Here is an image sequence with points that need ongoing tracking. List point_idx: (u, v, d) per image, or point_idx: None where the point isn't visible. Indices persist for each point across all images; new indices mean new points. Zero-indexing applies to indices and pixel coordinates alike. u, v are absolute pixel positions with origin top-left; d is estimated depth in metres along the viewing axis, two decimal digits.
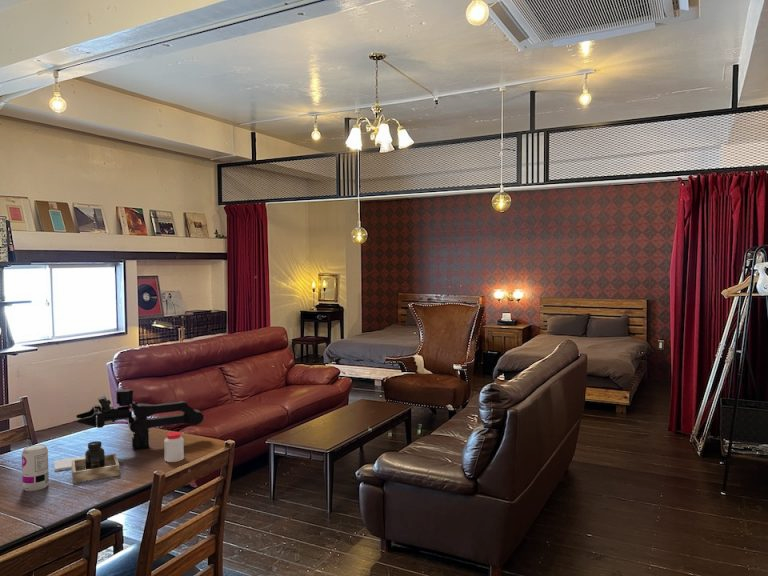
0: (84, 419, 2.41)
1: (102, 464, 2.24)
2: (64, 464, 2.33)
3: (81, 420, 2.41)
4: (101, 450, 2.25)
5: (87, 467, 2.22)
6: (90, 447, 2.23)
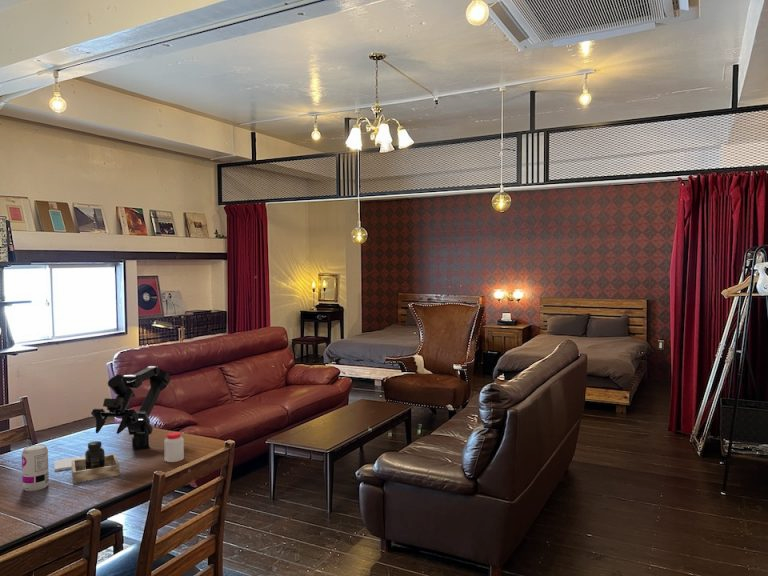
0: (121, 427, 2.34)
1: (102, 464, 2.24)
2: (64, 464, 2.33)
3: (120, 430, 2.33)
4: (101, 450, 2.25)
5: (87, 467, 2.22)
6: (90, 447, 2.23)
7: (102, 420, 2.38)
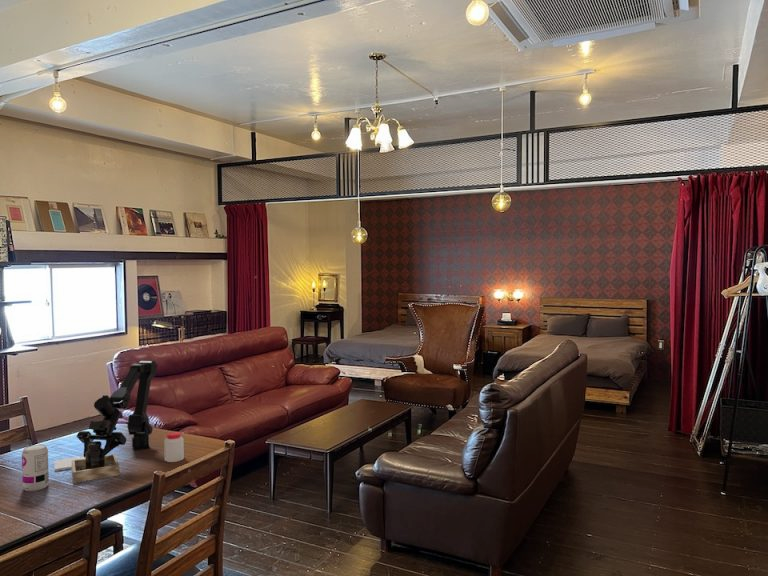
0: (105, 450, 2.25)
1: (102, 464, 2.24)
2: (64, 464, 2.33)
3: (104, 453, 2.24)
4: (101, 450, 2.25)
5: (87, 467, 2.22)
6: (90, 447, 2.23)
7: None
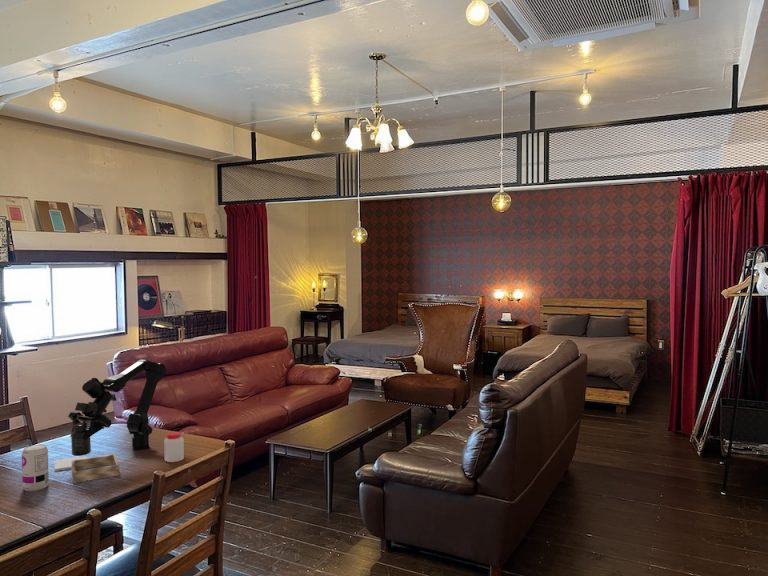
0: (89, 432, 2.27)
1: (86, 446, 2.27)
2: (64, 464, 2.33)
3: (87, 435, 2.26)
4: (85, 432, 2.27)
5: (72, 447, 2.26)
6: (75, 428, 2.26)
7: None
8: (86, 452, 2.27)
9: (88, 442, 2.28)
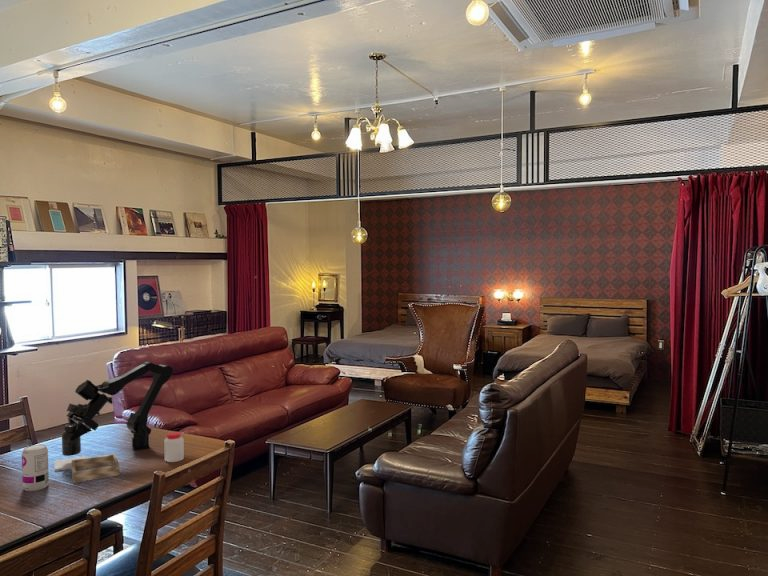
0: (75, 434, 2.32)
1: (73, 446, 2.33)
2: (64, 464, 2.33)
3: (74, 436, 2.32)
4: (73, 433, 2.33)
5: (62, 447, 2.33)
6: (64, 428, 2.33)
7: None
8: (73, 453, 2.33)
9: (76, 443, 2.33)
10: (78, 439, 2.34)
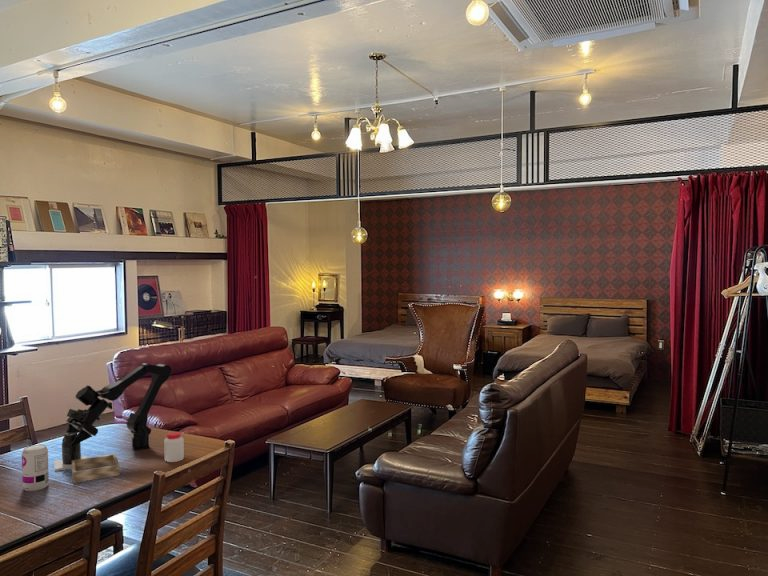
0: (76, 439, 2.31)
1: (74, 455, 2.33)
2: (64, 464, 2.33)
3: (74, 442, 2.31)
4: None
5: (62, 455, 2.33)
6: (64, 437, 2.33)
7: (74, 429, 2.40)
8: None
9: (76, 452, 2.33)
10: (78, 447, 2.34)
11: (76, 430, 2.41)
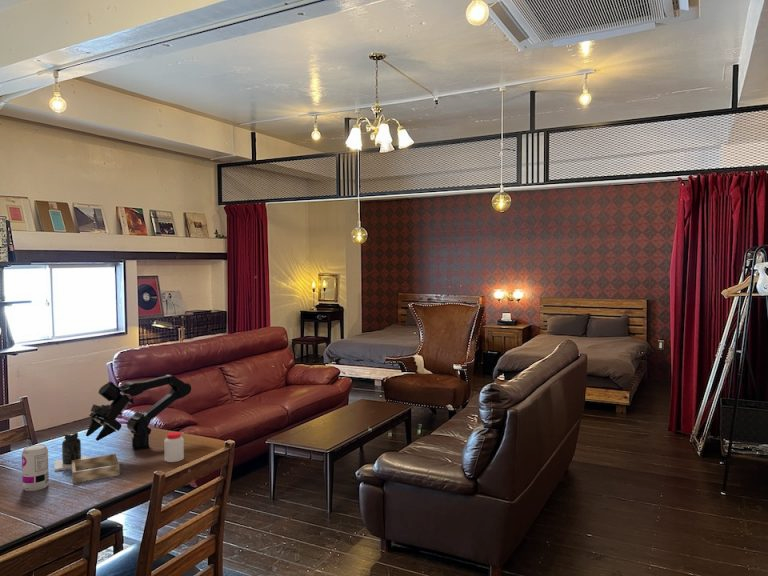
0: (101, 434, 2.39)
1: (74, 455, 2.33)
2: (64, 464, 2.33)
3: (99, 437, 2.39)
4: (74, 441, 2.33)
5: (62, 455, 2.33)
6: (65, 437, 2.33)
7: (97, 424, 2.48)
8: None
9: (76, 452, 2.33)
10: (78, 448, 2.34)
11: (99, 424, 2.48)
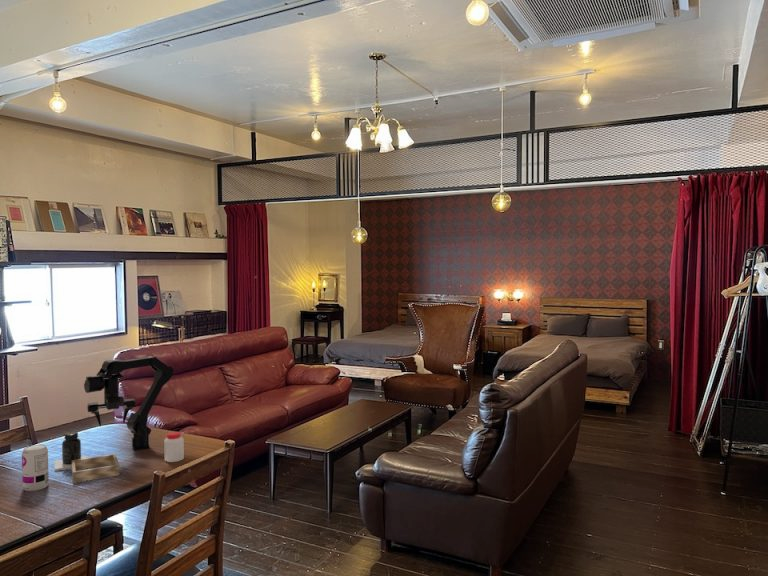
0: None
1: (74, 455, 2.33)
2: (64, 464, 2.33)
3: None
4: (74, 441, 2.33)
5: (62, 455, 2.33)
6: (65, 437, 2.33)
7: None
8: None
9: (76, 452, 2.33)
10: (78, 448, 2.34)
11: None
